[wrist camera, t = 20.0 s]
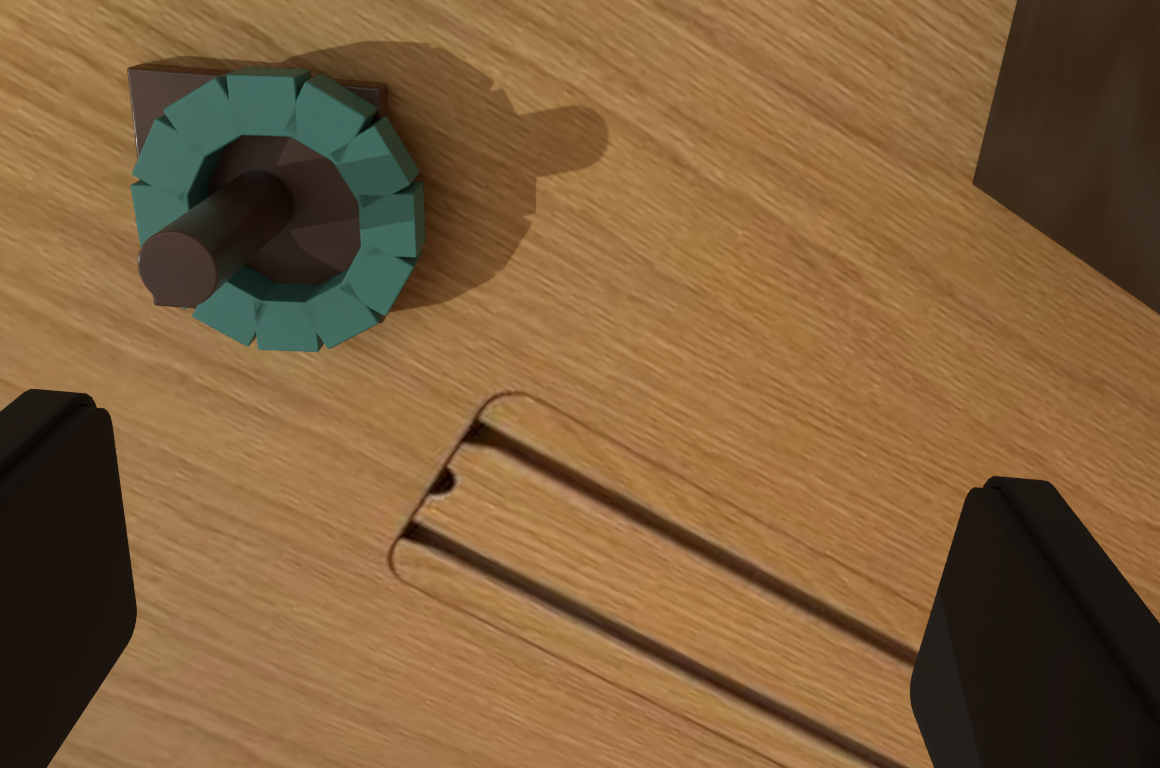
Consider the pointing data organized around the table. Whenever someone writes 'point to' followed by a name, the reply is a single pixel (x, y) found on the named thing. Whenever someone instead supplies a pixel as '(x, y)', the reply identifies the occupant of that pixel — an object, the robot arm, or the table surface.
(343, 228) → the post
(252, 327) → the ring
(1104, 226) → the dark grey square block
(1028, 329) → the table surface
